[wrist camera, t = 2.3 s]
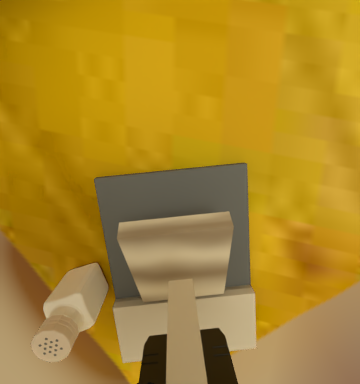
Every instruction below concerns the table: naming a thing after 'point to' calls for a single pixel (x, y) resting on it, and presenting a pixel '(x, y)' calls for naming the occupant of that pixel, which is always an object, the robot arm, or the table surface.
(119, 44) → the table surface
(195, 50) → the table surface
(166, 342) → the robot arm
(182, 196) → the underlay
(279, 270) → the table surface
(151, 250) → the plank
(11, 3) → the table surface
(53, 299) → the salt shaker
